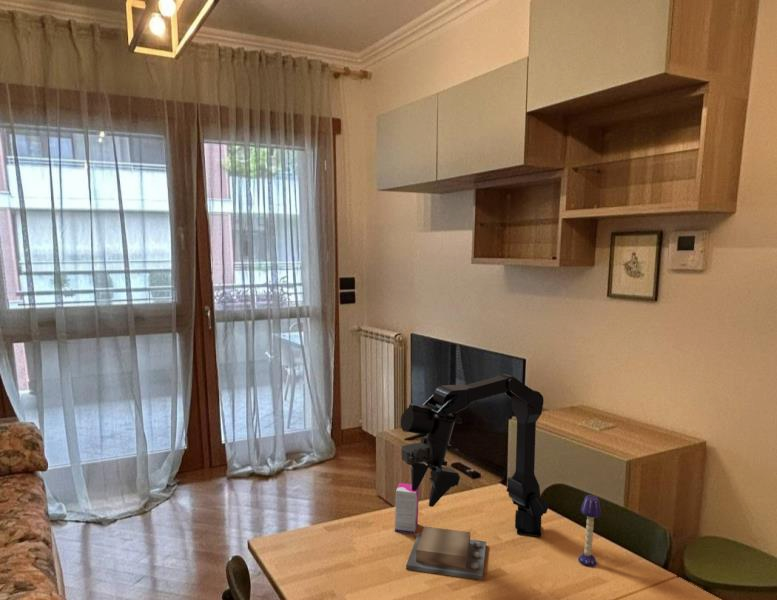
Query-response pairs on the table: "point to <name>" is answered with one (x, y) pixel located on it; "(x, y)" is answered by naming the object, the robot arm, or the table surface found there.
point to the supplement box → (406, 508)
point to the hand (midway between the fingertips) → (422, 498)
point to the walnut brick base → (450, 569)
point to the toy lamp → (589, 528)
